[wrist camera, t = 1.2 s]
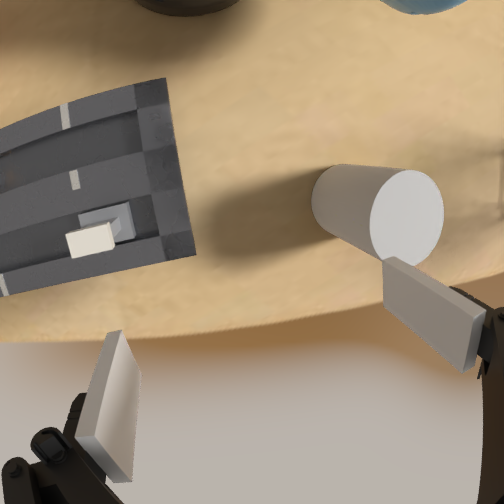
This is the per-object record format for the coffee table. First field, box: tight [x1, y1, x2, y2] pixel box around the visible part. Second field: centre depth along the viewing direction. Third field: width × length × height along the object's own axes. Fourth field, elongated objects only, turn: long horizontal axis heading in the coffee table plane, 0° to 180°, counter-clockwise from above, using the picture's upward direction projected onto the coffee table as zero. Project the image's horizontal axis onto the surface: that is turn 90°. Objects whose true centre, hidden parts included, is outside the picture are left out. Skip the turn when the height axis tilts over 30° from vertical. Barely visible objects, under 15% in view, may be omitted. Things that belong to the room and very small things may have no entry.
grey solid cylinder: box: [311, 164, 444, 266], centre depth 30 cm, size 8×8×12 cm
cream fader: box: [65, 201, 136, 259], centre depth 26 cm, size 3×5×7 cm
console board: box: [0, 77, 196, 297], centre depth 27 cm, size 17×32×3 cm, turn 99°
